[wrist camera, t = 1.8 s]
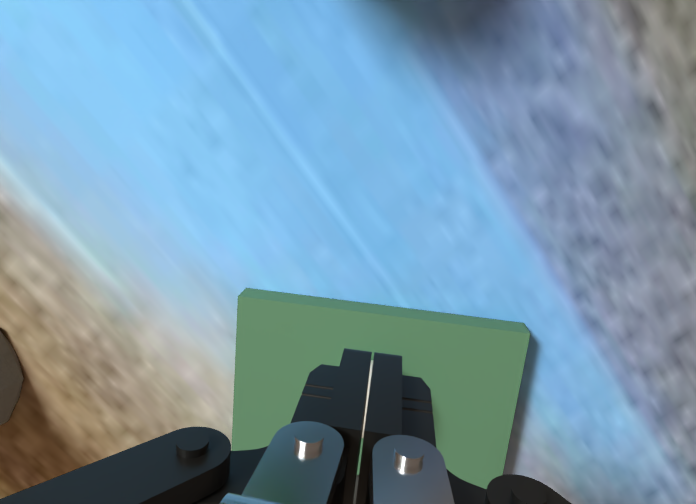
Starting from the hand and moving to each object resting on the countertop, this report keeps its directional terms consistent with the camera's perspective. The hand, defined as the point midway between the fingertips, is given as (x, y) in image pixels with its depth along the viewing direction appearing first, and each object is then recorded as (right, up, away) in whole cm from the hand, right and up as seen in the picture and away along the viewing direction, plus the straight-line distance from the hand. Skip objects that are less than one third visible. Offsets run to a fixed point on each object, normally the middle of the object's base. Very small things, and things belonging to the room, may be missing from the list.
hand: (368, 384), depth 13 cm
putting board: (+1, -8, +18) cm, 20 cm away
